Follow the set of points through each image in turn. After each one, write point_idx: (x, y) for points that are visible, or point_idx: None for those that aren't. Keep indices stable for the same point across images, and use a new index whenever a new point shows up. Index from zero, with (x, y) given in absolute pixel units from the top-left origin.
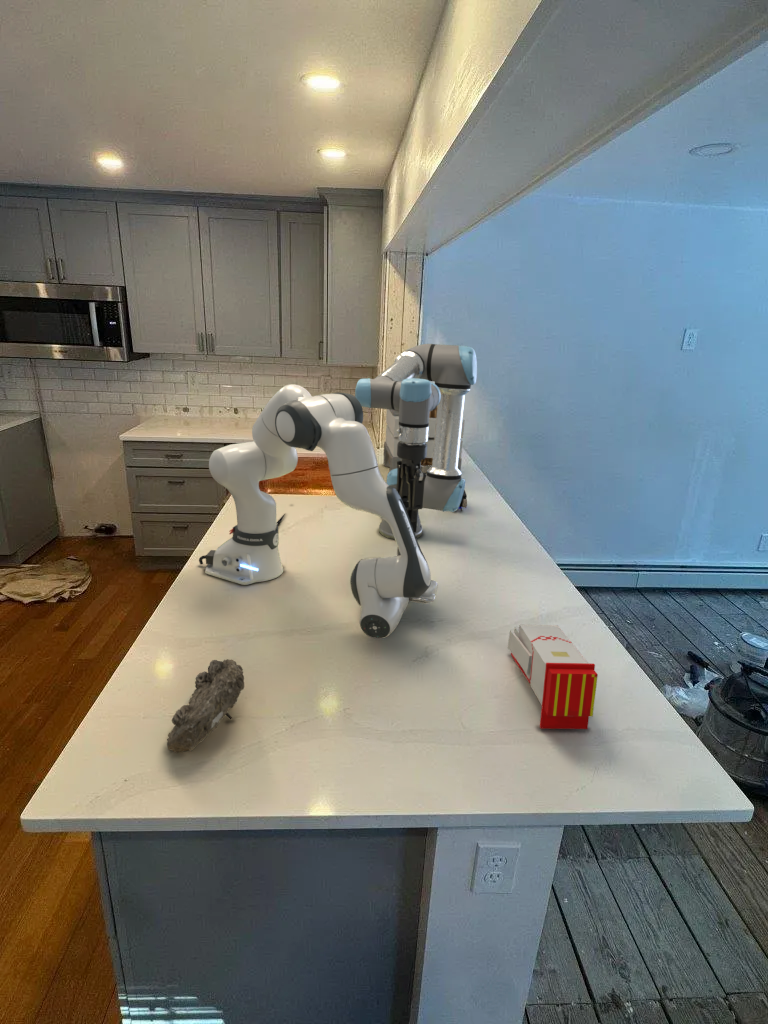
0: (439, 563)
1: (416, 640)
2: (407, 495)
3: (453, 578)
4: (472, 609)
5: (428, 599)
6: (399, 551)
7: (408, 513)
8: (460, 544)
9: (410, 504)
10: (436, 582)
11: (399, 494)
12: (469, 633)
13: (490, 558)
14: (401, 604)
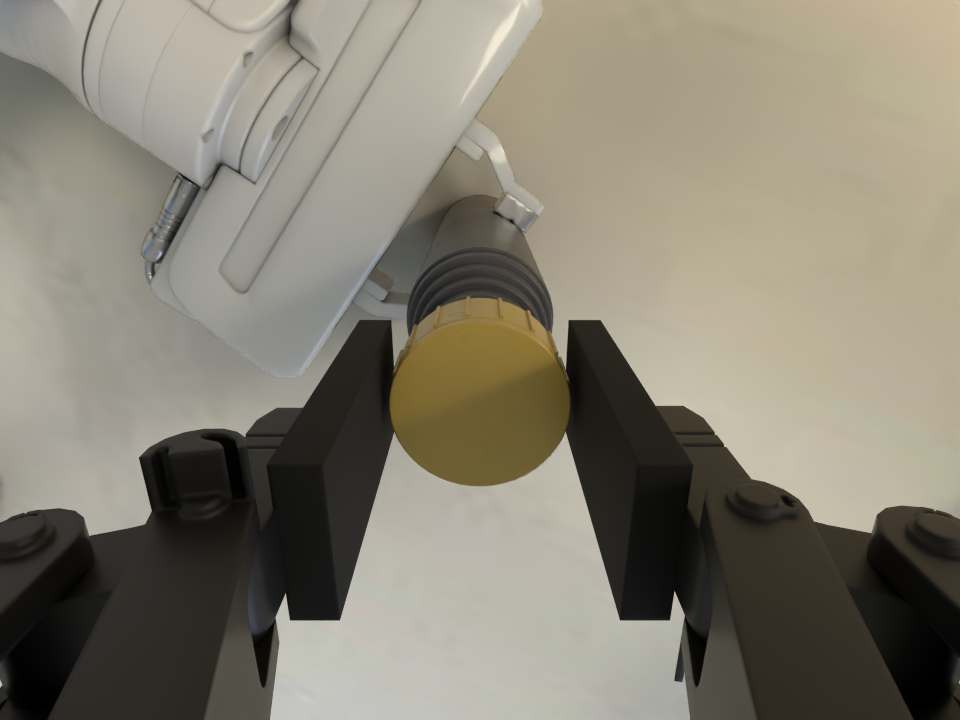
0: None
1: (76, 135)
2: (699, 698)
3: (567, 512)
4: None
5: (159, 269)
6: (456, 240)
7: (295, 436)
8: None
9: (129, 558)
10: (271, 373)
11: (836, 576)
12: (118, 375)
13: (677, 705)
14: (30, 61)
